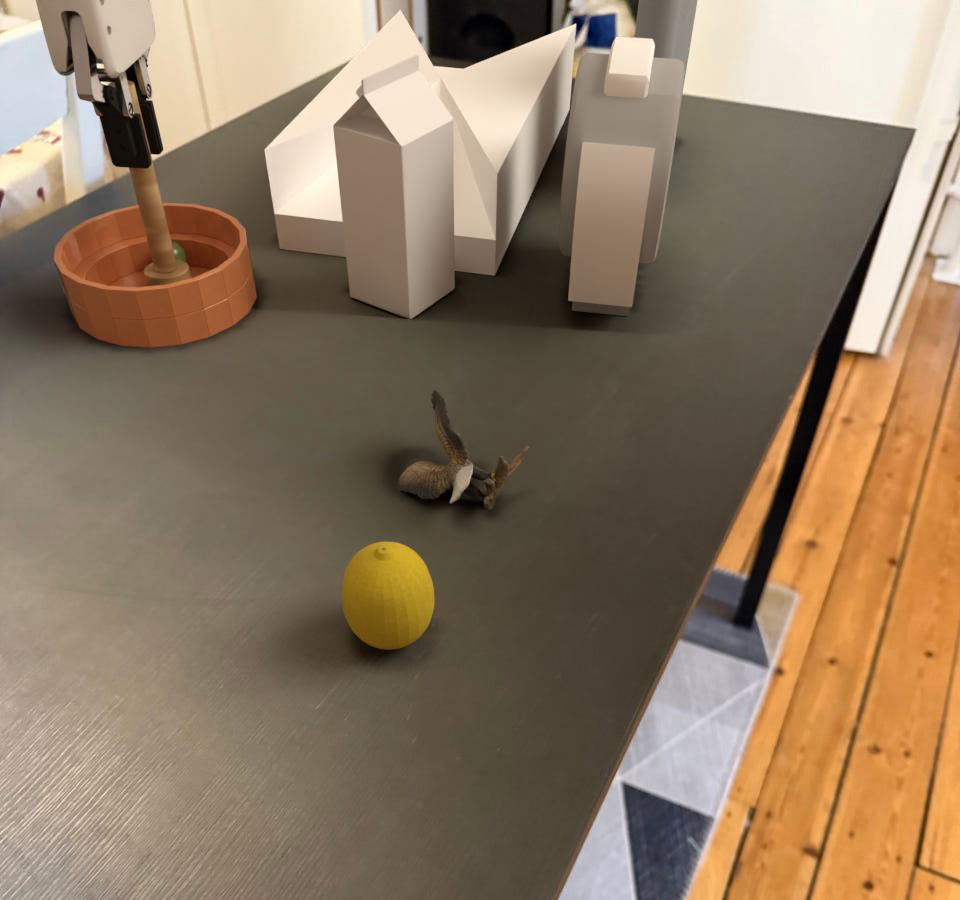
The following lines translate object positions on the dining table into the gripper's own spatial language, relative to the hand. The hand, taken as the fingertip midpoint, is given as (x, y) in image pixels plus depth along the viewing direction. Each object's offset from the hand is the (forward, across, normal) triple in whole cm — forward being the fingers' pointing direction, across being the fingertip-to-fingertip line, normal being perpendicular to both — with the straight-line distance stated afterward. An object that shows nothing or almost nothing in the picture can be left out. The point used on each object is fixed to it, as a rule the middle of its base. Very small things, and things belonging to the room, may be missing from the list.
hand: (138, 157), depth 77 cm
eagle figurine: (+12, +25, +29) cm, 40 cm away
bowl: (+12, +2, 0) cm, 12 cm away
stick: (+11, +1, 0) cm, 11 cm away
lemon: (+12, +40, +27) cm, 50 cm away
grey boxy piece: (+12, -7, +40) cm, 43 cm away
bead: (+10, -3, -1) cm, 10 cm away
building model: (+12, -31, +21) cm, 40 cm away
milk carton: (+12, -3, +21) cm, 25 cm away
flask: (+12, -34, +44) cm, 57 cm away
